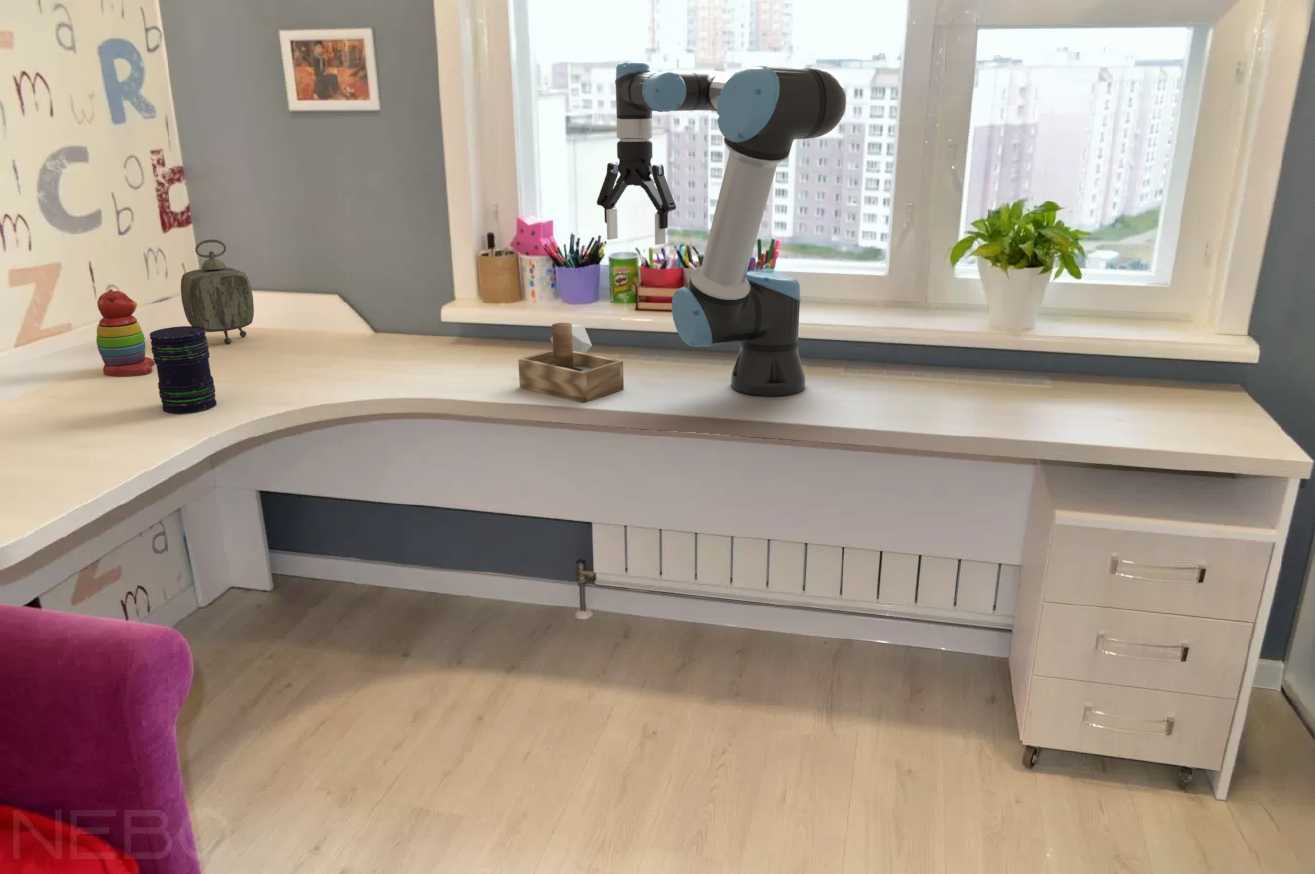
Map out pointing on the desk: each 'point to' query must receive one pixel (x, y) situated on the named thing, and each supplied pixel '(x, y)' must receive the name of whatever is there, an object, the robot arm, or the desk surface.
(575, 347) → the die
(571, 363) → the peg
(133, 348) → the bird stacking toy
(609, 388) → the box
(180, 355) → the storage jar
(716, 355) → the desk surface
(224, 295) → the tabletop clock
